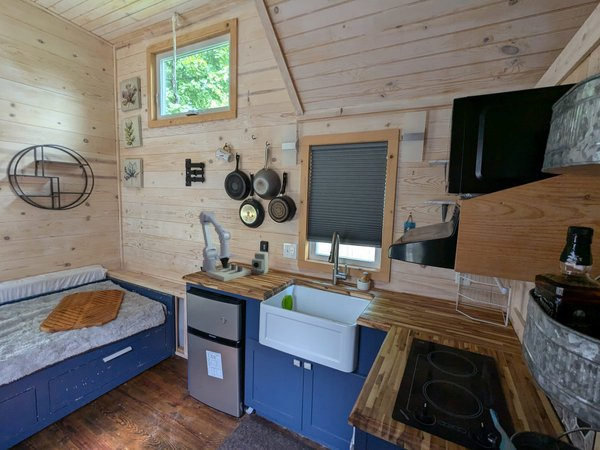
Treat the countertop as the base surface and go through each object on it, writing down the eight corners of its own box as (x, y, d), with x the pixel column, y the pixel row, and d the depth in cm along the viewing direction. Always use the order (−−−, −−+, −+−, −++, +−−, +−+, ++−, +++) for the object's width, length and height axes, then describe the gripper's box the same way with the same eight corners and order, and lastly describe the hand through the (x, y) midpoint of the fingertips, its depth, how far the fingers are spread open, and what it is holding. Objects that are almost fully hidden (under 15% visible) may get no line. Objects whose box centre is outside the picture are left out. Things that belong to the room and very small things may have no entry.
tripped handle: (231, 268, 209) (231, 263, 208) (233, 268, 210) (233, 262, 210) (233, 269, 207) (233, 264, 206) (235, 269, 208) (235, 263, 208)
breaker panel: (206, 275, 202) (206, 266, 202) (233, 268, 221) (233, 260, 220) (224, 281, 190) (224, 271, 189) (251, 273, 209) (251, 265, 208)
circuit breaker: (250, 275, 205) (251, 255, 203) (259, 270, 218) (259, 251, 217) (260, 276, 203) (260, 256, 201) (268, 271, 216) (268, 252, 214)
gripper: (219, 251, 192) (219, 271, 194) (236, 248, 204) (236, 267, 205) (213, 250, 196) (213, 269, 198) (230, 247, 208) (229, 265, 209)
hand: (224, 268), depth 202 cm, fingers closed
